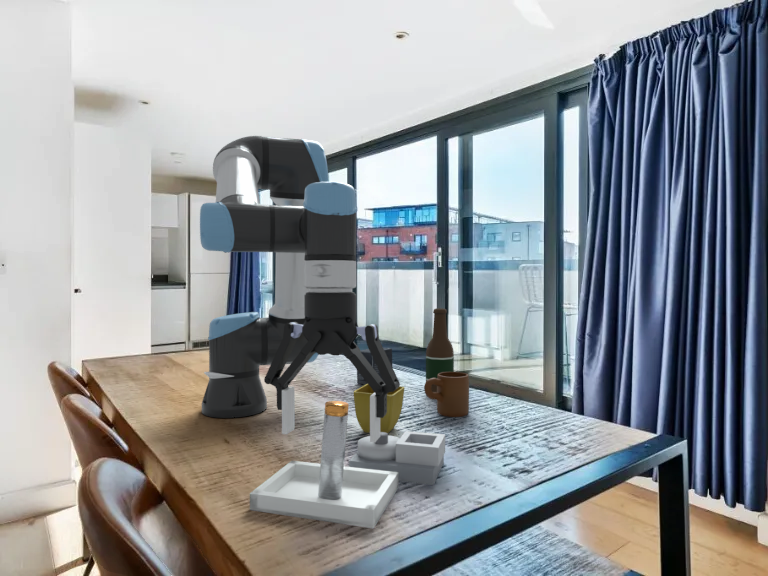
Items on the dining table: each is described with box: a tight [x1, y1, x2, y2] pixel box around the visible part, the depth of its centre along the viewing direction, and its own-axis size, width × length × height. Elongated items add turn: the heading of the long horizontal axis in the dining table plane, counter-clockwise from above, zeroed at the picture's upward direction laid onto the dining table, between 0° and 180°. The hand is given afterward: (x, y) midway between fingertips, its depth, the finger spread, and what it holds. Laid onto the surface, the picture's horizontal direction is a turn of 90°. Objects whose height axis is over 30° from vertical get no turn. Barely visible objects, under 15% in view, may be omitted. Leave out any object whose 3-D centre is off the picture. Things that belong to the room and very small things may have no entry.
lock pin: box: [318, 400, 350, 500], centre depth 73 cm, size 3×3×13 cm
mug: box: [423, 371, 470, 418], centre depth 119 cm, size 12×8×9 cm, turn 121°
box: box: [356, 347, 394, 386], centre depth 154 cm, size 11×7×10 cm, turn 144°
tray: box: [249, 460, 399, 529], centre depth 73 cm, size 18×13×2 cm
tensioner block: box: [348, 430, 446, 486], centre depth 85 cm, size 14×10×6 cm
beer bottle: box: [425, 308, 455, 392], centre depth 138 cm, size 8×8×24 cm
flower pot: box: [352, 384, 406, 434], centre depth 106 cm, size 9×9×9 cm
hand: (330, 435), depth 73 cm, fingers open, 13 cm apart
